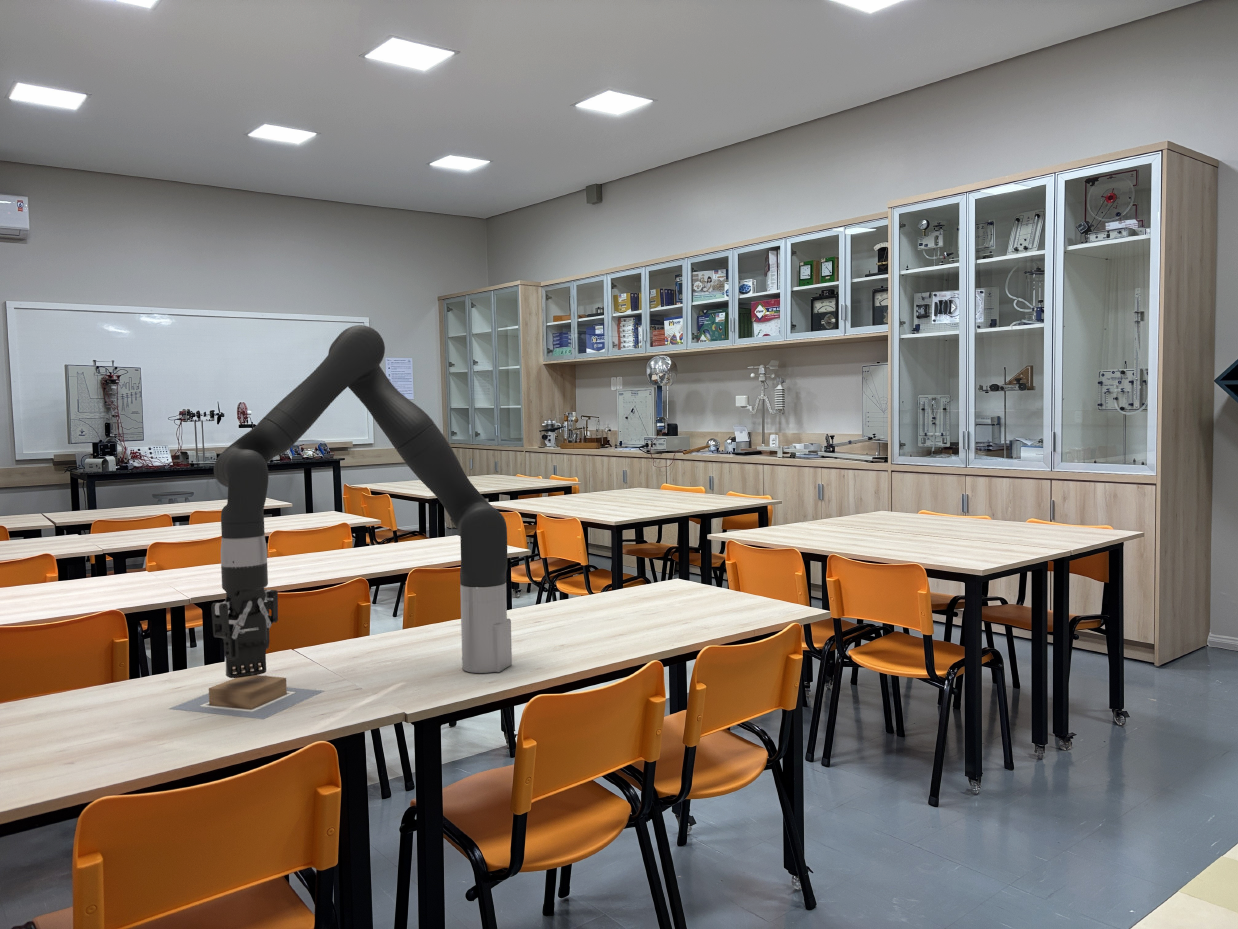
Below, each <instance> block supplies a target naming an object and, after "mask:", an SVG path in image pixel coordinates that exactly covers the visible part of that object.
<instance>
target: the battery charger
mask: <svg viewBox="0 0 1238 929" xmlns="http://www.w3.org/2000/svg"><path fill="white" fill-rule="evenodd" d="M229 620H238V618H235V617H233V616H230V617H229ZM229 629H230V631H231V632H232V629H233V625H229ZM237 638H238V652H239V658H238V659H237V660H227V659H226V657H225V656H224V657H225V658H224V660H225V676H226V677H227V678H229V679H234V678H241V677H248V676H254V675H264V674H265V673H267V658H266V657H267V654H266V653H267V649H266V640H267V625H266V618H265V616H264V614H262V613H261V612H259V611H257V612H252V613H250V614H249V615H248V616H247V617H246V620H245V623H244V625H243V626H242V627H241V628H240V630H239V633H238V636H237Z"/></svg>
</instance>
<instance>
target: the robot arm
mask: <svg viewBox="0 0 1238 929" xmlns="http://www.w3.org/2000/svg"><path fill="white" fill-rule="evenodd" d="M385 352H386V347H385V342H384V338H383V337H382V335H381V334H380V333H379V332H378V331H377V330H375V329H374V328H373V327H371V326H368V325H365V324H364V325H363V324H359V325H358V324H357V325H352V326H350V327H347V328H345V329H344V330H343V331H341V332H340V333H339V335H337V337H336V338H335V339H334V341H332V343H331V344H330V347H329V349H328V353H327V356H326V357H325V358H324V359H323V361H322V362H321V363H320V364H319V365H318V366H317V367H316V368H315V370H313V371H312V372H311V373H310V374H308V375H309V376H307V377H306V378H305V379H304V380H303V381H302V382H300V384H298V385H297V386H296V387H295V388H293V390H292V391H291V392H289V393H288V394H287V395H286V396H285V397H284V398H282V399H281V400H280V401H279V402H278V403H277V404H276V405H275V406H274V407H273V408H272V409H271V410H270V411H269V412H268V413H267V414H266V415H265V416H263V417H262V419H260V420H259V422H258V423H257V424H256V425H255V426H254V427H253V428H251V429H250V430H249V431H247V432H246V433H245V434H243V435H242V436H240V437H239V438H238V439H236V440H235V441H234V442H232V443H231V444H230V445H229V446H227V448H225V449H224V450H223V451H222V452H221V453H220V455H218V457H217V458H216V461H215V462H214V466H213V474H214V478H215V479H216V481H217V482H218V483H219V484H220V485H221V486H223V487H225V488H227V500H226V501H227V502H226V505H224V506H223V507H222V509H221V512H220V513H221V514H220V525H221V526H220V528H221V544H220V564H221V565H220V567H221V568H220V570H221V572H220V573H221V589H222V590H224V592H225V593H226V595H225V600H224V601H223V602H213V603H212V604H211V606H210V607H211V608H210V609H211V621H212V622H211V624H212V634H213V637H214V638H221V639H223V651H224V652H223V655H224V657H226V659H227V660H237V659H238V658H239V652H238V638H237V636H238V633H239V630H240V628H241V627H242V626H243V625H244V623H245V620H246V617H247V616H248V615H249V614H250V613H252V612H257V611H259V612H261V613H262V614H264V616H265V618H266V625H267V640H266V650H268V649H269V647H270V642H271V641H270V640H271V639H270V628H271V627H272V624H273V623H278V620H279V595H278V594H279V593H278V590H277V589H265V588H266V587H268V584H269V575H268V574H269V572H268V551H267V550H268V549H267V548H268V547H267V542H266V535H265V534H266V533H265V515H264V510H265V503H266V500H267V495H268V494H267V493H268V486H269V467H268V463H269V462H270V461H271V460H272V459H273V458H276V457H278V456H281V455H283V454H285V453H286V452H287V451H289V449H291V448H293V447H292V446H294V445H295V443H297V442H298V441H299V440H300V439H301V438H302V436H304V435H305V433H306V432H307V431H308V430H309V429H310V428H311V427H312V426H313V425H314V424H315V423H316V422H317V421H318V419H319V418H320V417H321V416H322V415H323V413H324V412H325V411H326V410H327V409H328V408H329V406H330V405H331V404H332V403H333V402H334V401H336V399H337V398H338V397H339V396H340V395H341V394H342V393H344V391H345V389H347V388H348V389H349V390H350V391H351V392H352V393H353V394H354V395H355V396H356V397H357V399H358V400H359V401H360V402H361V403H362V404H363V406H364V407H365V408H366V409H367V411H368V413H369V414H371V416H372V418H373V420H374V421H375V423H376V424H377V425H378V426H379V428H380V429H381V430H382V432H383V434H384V435H385V436H386V437H387V438H388V440H389V442H390V443H391V444H392V447H393V448H394V449H395V450H396V452H397V453H398V455H399V456H400V457H401V459H402V460H403V461H404V462H405V464H406V465H407V467H408V468H409V469H410V470H411V471H412V473H413V474H415V476H416V477H417V478H418V479H419V481H421V482H422V483H423V485H424V486H426V488H428V490H429V491H431V493H432V494H433V495H434V496H435V497H436V498H437V500H438V501H439V502H440V503H441V504H442V506H443V508H444V509H445V512H446V513H447V515H448V516H449V518H450V519H451V521H452V523H453V524H454V527H455V528H456V530H457V532H458V535H459V536H460V537H459V538H460V539H459V540H460V571H459V582H460V583H459V584H460V585H459V586H460V623H461V624H460V625H461V627H460V628H461V629H460V631H461V632H460V633H461V634H460V636H461V661H462V662H461V665H462V667H461V668H462V670H463V671H465V672H468V673H472V674H473V673H475V674H487V673H500V672H502V671H503V670H505V669H507V668H508V667H510V666H512V665H513V658H512V657H513V652H512V649H513V648H512V646H513V645H512V620H511V618H508V612H507V611H508V609H507V607H508V606H507V570H508V527H507V521H506V519H505V517H504V516H503V514H502V513H501V511H499V510H498V509H497V508H495V507H494V506H492V505H491V504H490V503H489V501H488V500H487V499H486V498H485V497H484V496H483V495H482V494H481V492H480V491H479V490H478V489H477V488H476V487H475V485H473V483H472V481H471V480H470V479H469V478H468V477H467V475H466V473H465V471H464V469H463V466H462V465H461V463H460V461H459V458H458V457H457V455H456V453H455V451H454V450H453V448H452V446H451V444H450V443H449V442H448V440H447V438H446V436H444V434H443V433H442V431H441V429H439V427H438V426H437V424H436V423H435V422H434V420H433V419H432V418H431V417H430V415H428V413H426V411H424V410H423V409H422V408H421V407H419V406H418V405H417V404H416V403H414V402H413V401H412V400H411V399H409V398H408V397H406V396H405V395H403V393H401V392H400V391H399V390H398V389H397V388H396V387H395V386H394V385H393V383H392V382H391V381H390V379H389V378H388V376H387V375H386V373H385V372H384V370H383V369H382V367H381V365H380V364H382V361H383V360H384V357H385V354H386V353H385ZM270 611H271V614H270ZM230 616H233V617H235V618H238V620H229V617H230ZM229 625H233V629H232V632H231V631H230V629H229Z"/></svg>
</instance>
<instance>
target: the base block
mask: <svg viewBox="0 0 1238 929" xmlns="http://www.w3.org/2000/svg"><path fill="white" fill-rule="evenodd" d="M287 687H288V686H287V677H283V676H281V677H280V676H271V675H263V674H259V675H254V676H248V677H241V678H231V679H230V680H227V681H224V682H221V683H219V684H216V685H213V686H211V687H208V693H209V705H213V706H222V707H232V708H242V709H254V708H256V707H258V706H261V705H263V704H265V703H267V702H270V701H272V700H274V699H277V698H279V697H281V696H283V695H286V694H287Z"/></svg>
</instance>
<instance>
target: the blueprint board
mask: <svg viewBox="0 0 1238 929" xmlns="http://www.w3.org/2000/svg"><path fill="white" fill-rule="evenodd" d="M324 692H325V690H319V689H318V690H317V689H308V688H299V687H298V688H296V687H290V686H287V694H286V695H283V696H281V697H279V698H277V699H274V700H272V701H270V702H267V703H265V704H263V705H261V706H258V707H256V708H254V709H242V708H232V707H222V706H213V705H209V692H208V693H205V694H203V695H200V696H198V697H195V698H192V699H190V700H187V701H185V702H182V703H180V704H177V705H174V706H172V707H170V708H168V710H173V711H174V710H176V711H183V712H191V713H193V712H194V713H202V714H211V715H220V716H229V717H230V716H231V717H240V718H247V719H249V718H250V719H259V720H265V719H267V718H269V717H271V716H274V715H276V714H277V713H280V712H282V711H284V710H287V709H289V708H292V707H293V706H295V705H297V704H300V703H302V702H304V701H306V700H308V699H310V698H313V697H315V696H317V695H319V694H322V693H324Z"/></svg>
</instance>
